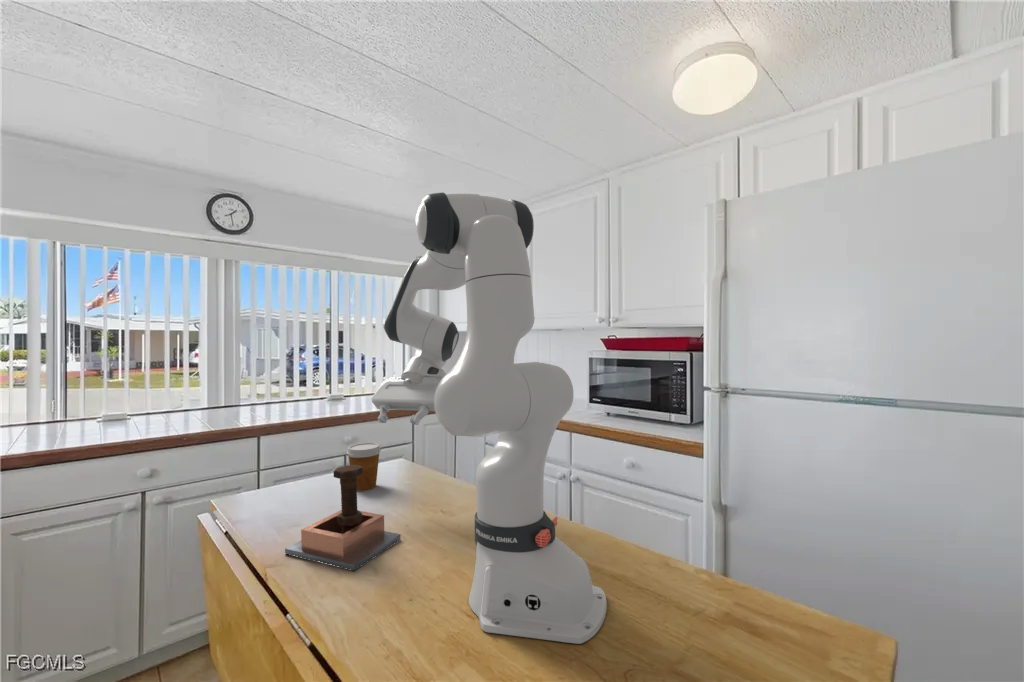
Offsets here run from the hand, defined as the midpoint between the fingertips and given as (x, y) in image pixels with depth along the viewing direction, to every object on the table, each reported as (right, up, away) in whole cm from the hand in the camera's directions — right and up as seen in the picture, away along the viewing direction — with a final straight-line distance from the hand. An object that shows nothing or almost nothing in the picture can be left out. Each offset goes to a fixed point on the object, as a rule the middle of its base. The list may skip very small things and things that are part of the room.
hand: (397, 422), depth 108 cm
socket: (-8, -24, -13) cm, 28 cm away
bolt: (-7, -23, -12) cm, 27 cm away
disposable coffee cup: (-15, -23, +24) cm, 37 cm away
